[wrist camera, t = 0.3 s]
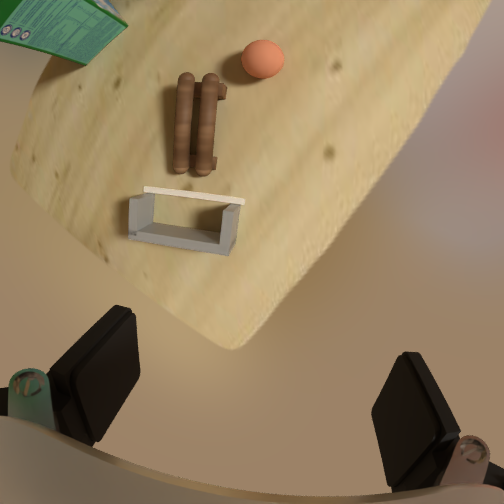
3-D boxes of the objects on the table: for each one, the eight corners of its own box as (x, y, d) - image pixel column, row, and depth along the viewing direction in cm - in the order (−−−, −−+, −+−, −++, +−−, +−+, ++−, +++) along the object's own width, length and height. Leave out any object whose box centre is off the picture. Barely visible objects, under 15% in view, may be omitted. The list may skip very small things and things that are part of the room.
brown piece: (186, 79, 34) (174, 70, 29) (228, 80, 33) (221, 71, 29) (173, 172, 38) (160, 174, 33) (214, 177, 37) (206, 179, 33)
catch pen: (146, 192, 39) (129, 198, 34) (240, 205, 38) (233, 212, 33) (144, 229, 40) (128, 238, 36) (235, 244, 40) (228, 256, 35)
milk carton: (129, 26, 31) (13, -42, 8) (85, 66, 34) (-43, 34, 10) (107, -2, 30) (5, -62, 6) (67, 36, 32) (-44, 1, 8)
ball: (247, 46, 31) (241, 32, 27) (286, 50, 31) (286, 36, 26) (241, 80, 33) (235, 69, 28) (281, 85, 33) (281, 74, 28)
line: (144, 186, 38) (143, 186, 38) (245, 198, 38) (245, 198, 38) (143, 191, 39) (143, 191, 39) (244, 204, 38) (244, 205, 38)
